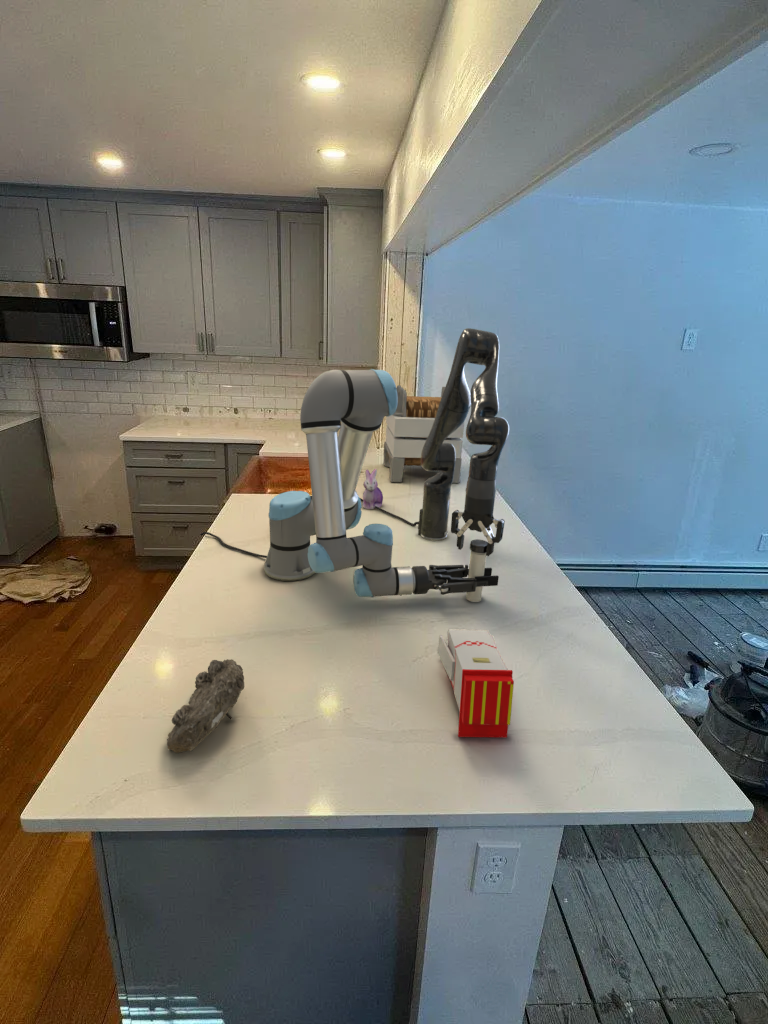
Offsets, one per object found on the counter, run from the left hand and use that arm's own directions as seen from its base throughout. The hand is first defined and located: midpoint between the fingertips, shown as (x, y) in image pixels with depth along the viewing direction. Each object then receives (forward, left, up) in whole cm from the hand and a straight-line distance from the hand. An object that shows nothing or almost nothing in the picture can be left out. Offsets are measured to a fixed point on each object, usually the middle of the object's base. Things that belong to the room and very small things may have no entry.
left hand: (494, 576), depth 156 cm
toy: (-1, -44, -6) cm, 44 cm away
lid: (-5, -2, +10) cm, 11 cm away
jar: (-5, -2, -6) cm, 8 cm away
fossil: (-48, -66, -6) cm, 82 cm away
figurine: (-52, +62, -6) cm, 81 cm away
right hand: (-6, -3, +8) cm, 10 cm away
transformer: (-43, +117, -6) cm, 125 cm away
